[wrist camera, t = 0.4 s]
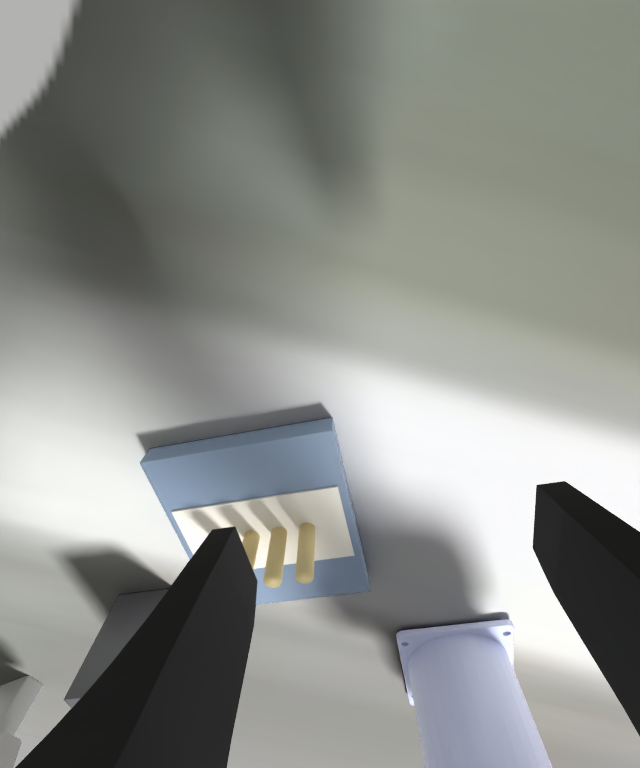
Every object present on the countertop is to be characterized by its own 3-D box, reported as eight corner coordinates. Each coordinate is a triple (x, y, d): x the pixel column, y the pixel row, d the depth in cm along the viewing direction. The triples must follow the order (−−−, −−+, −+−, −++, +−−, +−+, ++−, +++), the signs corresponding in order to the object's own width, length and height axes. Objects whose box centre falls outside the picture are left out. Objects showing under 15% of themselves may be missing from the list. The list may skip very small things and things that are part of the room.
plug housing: (173, 587, 25) (132, 693, 20) (212, 655, 29) (186, 761, 23) (118, 594, 26) (63, 699, 20) (163, 661, 29) (126, 765, 24)
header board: (367, 573, 24) (375, 644, 21) (220, 592, 25) (201, 662, 22) (332, 417, 19) (333, 472, 15) (149, 448, 20) (107, 507, 16)
